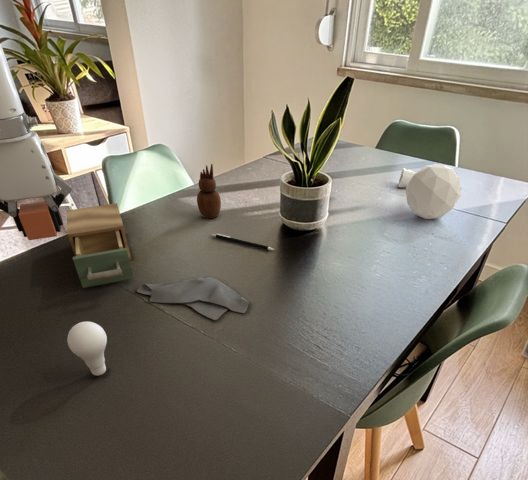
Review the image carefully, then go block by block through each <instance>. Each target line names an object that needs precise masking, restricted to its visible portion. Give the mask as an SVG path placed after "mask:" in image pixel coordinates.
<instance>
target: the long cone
mask: <svg viewBox="0 0 528 480" xmlns="http://www.w3.org/2000/svg"><path fill="white" fill-rule="evenodd" d="M417 172H418V171H414V170H410V169H407V168H403V169H402V170H401V173H400V176H399V179H398V184H397V186H398V188H406V187H407V186H408V184H409V182H410V180H411V179H412V177H413V175H414V174H415V173H417Z"/></svg>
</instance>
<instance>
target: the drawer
mask: <svg viewBox="0 0 528 480" xmlns="http://www.w3.org/2000/svg"><path fill="white" fill-rule="evenodd" d="M75 246H76V256H75V255H74V256H72V261H73V264H74V267H75V270H76V273H77V276H78V278H79V282H80V285H81V287H82V289H85V288H91V287H96V286H101V285H106V284H111V283H116V282H122V281H127V280H132V279H135V277H134V273H133V269H132V265H131V260H129V256H128V252H127V248H123V245H122V241H121V237H120V234H119V230H113V231H107V232H101V233H95V234H88V235H82V236H76V237H75Z"/></svg>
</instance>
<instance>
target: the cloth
mask: <svg viewBox="0 0 528 480" xmlns="http://www.w3.org/2000/svg"><path fill="white" fill-rule="evenodd" d="M136 292H137V293H138V294H141V295H146V296H150V298H149V301H148V302H150V303H159V304H180V305H185V306H188V307H191V308H192V309H193V310H194V311H195V312H197V313H198V314H200V315H202V316H203V317H206V318H208V319H211V320H213V321H218V320H219V318H221V317H222V315H224V313H226V312H227V311H228V310H230V311H231V312H234V313H240V314H246V312H247V310H248V307H249V304H250V302H249V301H248V300H247V299H245V298H244V297H243V296H241V295H240V294H239V293H237V291H235V290H234V289H232V288H230V286H228V285H227V284H225V283H224V282H221V280H219V279H217V278H215V277H212V276H207V277H199V276H198V277H193V278H188V279H175V280H171V281H166V282H161V283H143V284H141V285H140V286H139V287H138V288H137V289H136Z"/></svg>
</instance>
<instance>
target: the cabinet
mask: <svg viewBox="0 0 528 480" xmlns="http://www.w3.org/2000/svg"><path fill="white" fill-rule="evenodd" d="M121 215H122V214H121V212H120V208H119V205H118V203H108V204H102V205H96V206H89V207H82V208H81V207H80V208H74V209H69V210H68V209H67V210H66V230H67V237H68V240H69V244H70V246H71V250H72V252H73V255H74V257H75V256H76V246H75V237H76V236H82V235H88V234H95V233H101V232H107V231H113V230H119V234H120V237H121V241H122V245H123V248H127V252H128V256H129V260H130V261H131V260H133V259H132V256H131V251H130V247H129V243H128V239H127V236H126V232H125V227H124V224H123V219H122V216H121Z"/></svg>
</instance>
